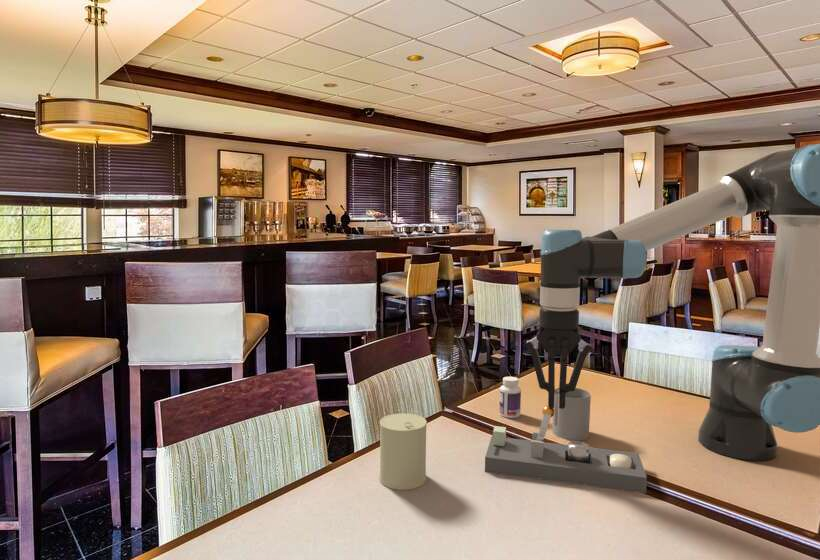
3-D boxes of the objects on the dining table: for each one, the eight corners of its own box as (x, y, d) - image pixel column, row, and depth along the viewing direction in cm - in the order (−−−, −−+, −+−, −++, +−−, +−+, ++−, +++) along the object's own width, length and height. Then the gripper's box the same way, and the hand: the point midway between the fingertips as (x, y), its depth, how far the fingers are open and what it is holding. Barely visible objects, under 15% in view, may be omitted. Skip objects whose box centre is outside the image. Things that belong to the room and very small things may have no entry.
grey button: (587, 458, 108) (588, 442, 108) (588, 467, 104) (589, 450, 104) (567, 456, 109) (568, 440, 109) (567, 464, 105) (568, 447, 105)
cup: (590, 441, 121) (592, 399, 120) (553, 438, 123) (555, 397, 122) (586, 428, 130) (587, 388, 128) (551, 425, 131) (552, 386, 130)
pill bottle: (523, 413, 139) (524, 377, 138) (515, 420, 134) (516, 382, 133) (503, 409, 142) (505, 374, 141) (495, 415, 137) (496, 379, 136)
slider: (505, 440, 114) (506, 427, 113) (504, 446, 111) (504, 432, 111) (494, 439, 114) (494, 425, 114) (492, 444, 112) (493, 431, 111)
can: (391, 494, 97) (392, 431, 96) (371, 473, 105) (371, 415, 104) (435, 483, 101) (436, 423, 100) (412, 464, 109) (413, 407, 108)
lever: (543, 446, 110) (556, 405, 108) (543, 452, 107) (556, 410, 105) (532, 442, 110) (544, 401, 109) (531, 448, 107) (544, 406, 106)
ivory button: (629, 471, 106) (630, 455, 106) (632, 481, 102) (633, 463, 102) (608, 469, 107) (609, 452, 107) (610, 478, 103) (610, 461, 103)
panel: (637, 467, 109) (639, 438, 108) (646, 493, 98) (647, 461, 98) (491, 449, 117) (492, 422, 116) (484, 471, 106) (485, 441, 106)
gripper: (591, 306, 106) (587, 419, 109) (527, 303, 110) (525, 413, 112) (594, 312, 99) (589, 433, 102) (525, 309, 102) (523, 426, 105)
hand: (555, 423), depth 107 cm, fingers closed
